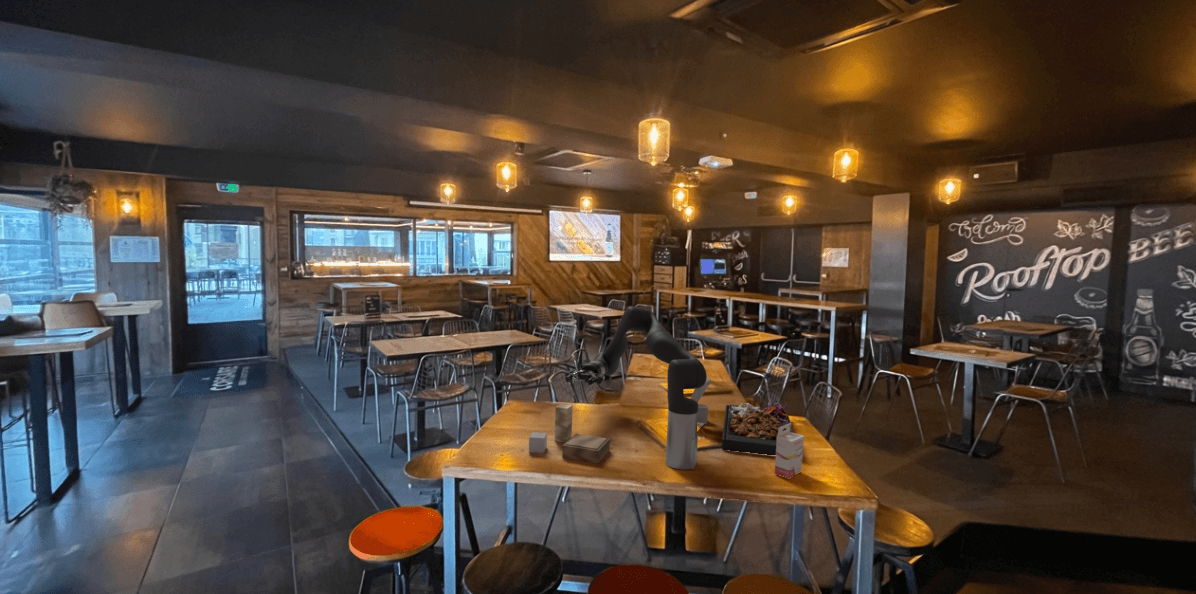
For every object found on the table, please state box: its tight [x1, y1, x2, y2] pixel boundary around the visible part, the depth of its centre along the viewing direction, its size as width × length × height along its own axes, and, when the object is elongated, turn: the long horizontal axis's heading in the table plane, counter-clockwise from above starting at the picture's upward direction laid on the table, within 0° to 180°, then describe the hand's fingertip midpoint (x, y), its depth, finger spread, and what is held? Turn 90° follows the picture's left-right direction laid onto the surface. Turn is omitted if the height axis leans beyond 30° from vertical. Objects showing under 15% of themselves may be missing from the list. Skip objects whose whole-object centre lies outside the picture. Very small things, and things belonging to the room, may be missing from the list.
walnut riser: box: [561, 433, 611, 464], centre depth 168 cm, size 12×12×4 cm
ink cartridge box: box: [774, 423, 805, 479], centre depth 157 cm, size 9×5×15 cm, turn 134°
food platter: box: [721, 400, 795, 455], centre depth 194 cm, size 45×25×10 cm, turn 165°
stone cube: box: [528, 431, 548, 454], centre depth 170 cm, size 5×5×5 cm
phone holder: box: [690, 377, 711, 428], centre depth 202 cm, size 17×10×18 cm, turn 153°
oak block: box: [554, 403, 573, 444], centre depth 180 cm, size 4×4×12 cm
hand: (578, 381), depth 188 cm, fingers open, 8 cm apart
